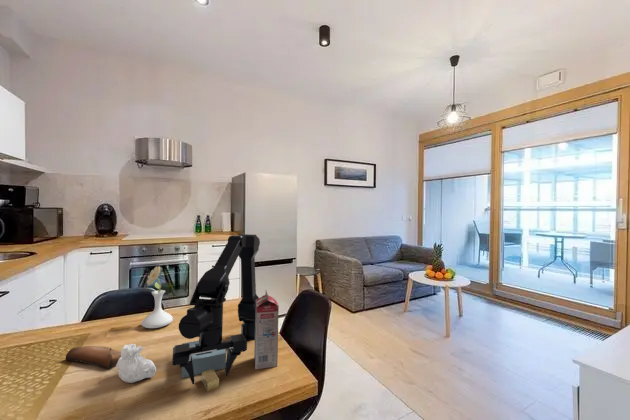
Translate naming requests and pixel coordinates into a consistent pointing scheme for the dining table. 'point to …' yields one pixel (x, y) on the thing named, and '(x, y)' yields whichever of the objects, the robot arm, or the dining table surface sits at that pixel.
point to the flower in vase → (156, 305)
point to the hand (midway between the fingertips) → (210, 379)
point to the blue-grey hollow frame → (206, 360)
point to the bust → (134, 364)
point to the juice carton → (266, 332)
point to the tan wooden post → (210, 380)
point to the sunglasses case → (95, 355)
